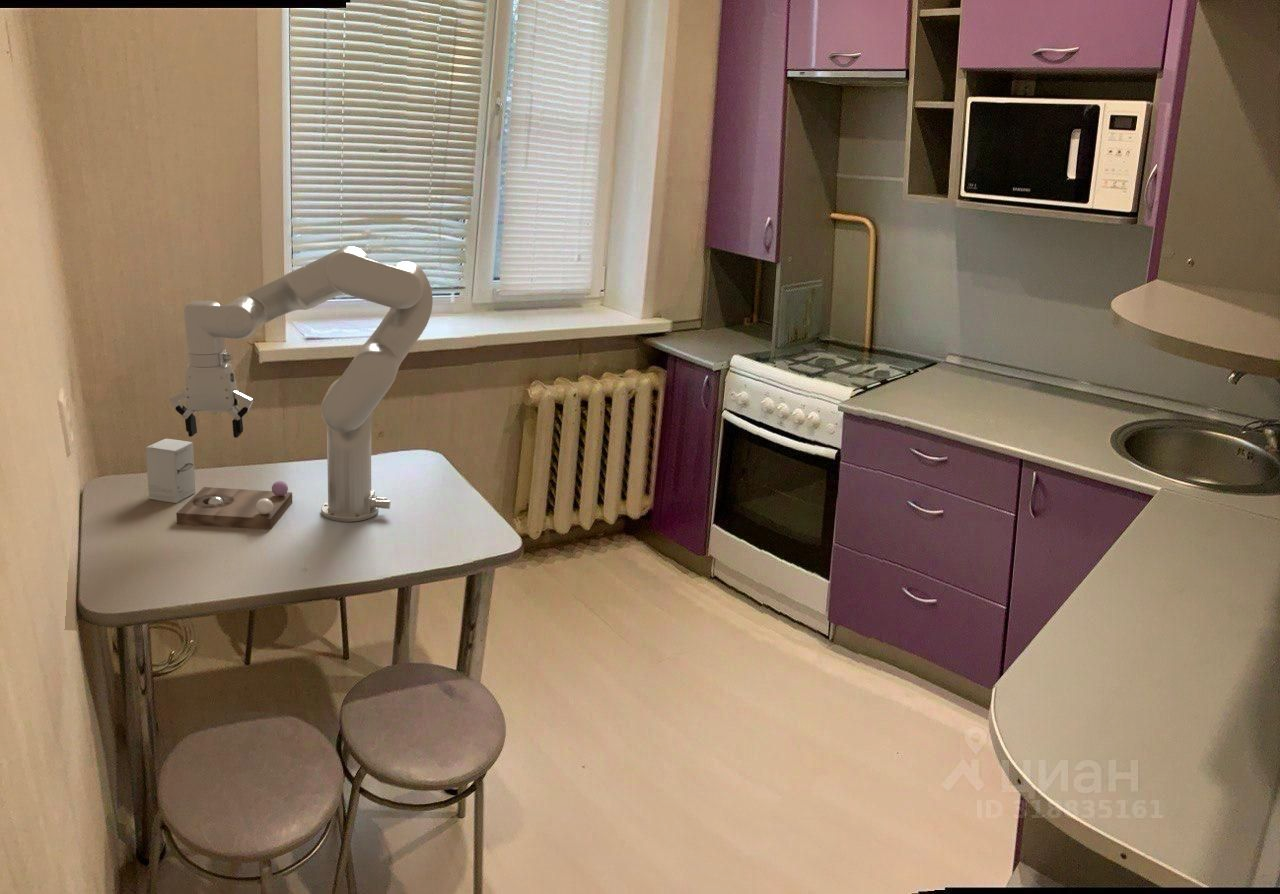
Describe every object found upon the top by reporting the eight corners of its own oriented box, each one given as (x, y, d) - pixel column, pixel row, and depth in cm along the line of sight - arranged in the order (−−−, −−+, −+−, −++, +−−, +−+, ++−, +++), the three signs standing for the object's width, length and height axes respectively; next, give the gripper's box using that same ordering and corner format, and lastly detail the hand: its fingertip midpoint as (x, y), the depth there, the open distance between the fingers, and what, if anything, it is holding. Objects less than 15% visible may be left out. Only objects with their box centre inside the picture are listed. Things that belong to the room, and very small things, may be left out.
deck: (292, 502, 240) (292, 492, 239) (270, 529, 225) (270, 518, 224) (204, 497, 239) (203, 486, 238) (177, 523, 224) (176, 513, 223)
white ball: (275, 511, 228) (274, 496, 227) (270, 517, 225) (269, 502, 224) (259, 510, 228) (258, 495, 227) (254, 516, 225) (253, 501, 224)
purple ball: (290, 493, 239) (289, 479, 238) (285, 499, 235) (285, 484, 234) (274, 492, 238) (274, 478, 237) (269, 498, 235) (269, 483, 234)
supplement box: (177, 504, 234) (173, 451, 230) (147, 499, 236) (143, 446, 232) (197, 493, 241) (194, 441, 237) (168, 488, 242) (164, 437, 239)
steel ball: (211, 492, 232) (209, 506, 233) (206, 498, 229) (203, 512, 230) (227, 496, 233) (225, 510, 234) (222, 502, 229) (219, 516, 230)
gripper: (254, 356, 226) (260, 431, 231) (173, 354, 225) (181, 429, 231) (243, 364, 219) (250, 441, 224) (159, 362, 218) (168, 439, 224)
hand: (215, 435), depth 227 cm, fingers open, 9 cm apart
